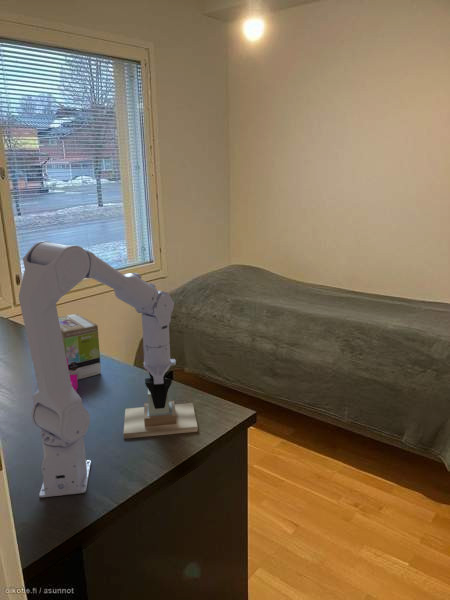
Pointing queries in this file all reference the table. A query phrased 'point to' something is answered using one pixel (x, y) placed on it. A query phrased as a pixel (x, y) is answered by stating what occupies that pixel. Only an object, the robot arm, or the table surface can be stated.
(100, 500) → the table surface
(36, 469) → the table surface
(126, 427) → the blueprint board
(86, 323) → the tea box
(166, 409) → the sage block
